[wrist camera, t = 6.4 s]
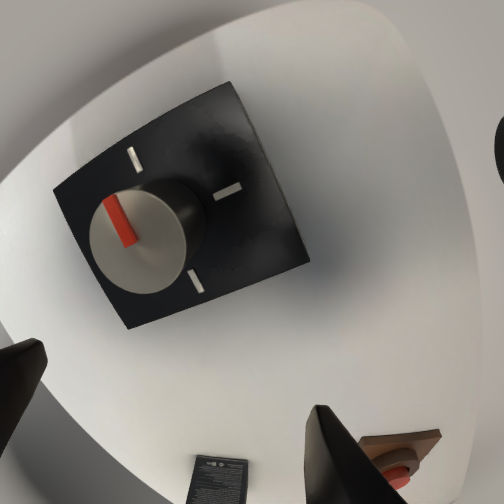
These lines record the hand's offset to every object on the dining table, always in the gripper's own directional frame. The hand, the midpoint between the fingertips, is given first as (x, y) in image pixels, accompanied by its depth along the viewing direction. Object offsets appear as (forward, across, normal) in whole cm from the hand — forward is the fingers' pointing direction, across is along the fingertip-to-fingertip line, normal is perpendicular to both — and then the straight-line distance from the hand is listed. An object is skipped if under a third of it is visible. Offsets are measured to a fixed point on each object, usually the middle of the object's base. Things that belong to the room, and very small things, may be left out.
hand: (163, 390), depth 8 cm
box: (+12, -3, +26) cm, 29 cm away
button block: (+12, -21, +21) cm, 32 cm away
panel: (+12, +3, -3) cm, 12 cm away
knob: (+9, +3, -3) cm, 9 cm away
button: (+9, -21, +21) cm, 31 cm away
